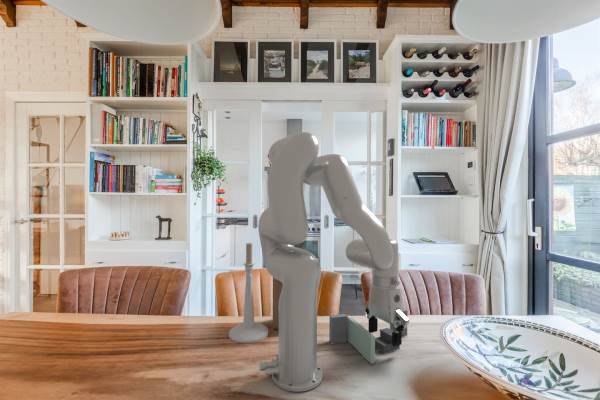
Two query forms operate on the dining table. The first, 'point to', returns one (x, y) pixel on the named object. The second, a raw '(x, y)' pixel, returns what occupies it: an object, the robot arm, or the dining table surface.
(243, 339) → the candlestick
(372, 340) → the door
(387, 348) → the dark grey stepped block
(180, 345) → the dining table surface
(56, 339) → the dining table surface
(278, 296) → the wooden block
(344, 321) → the door frame
